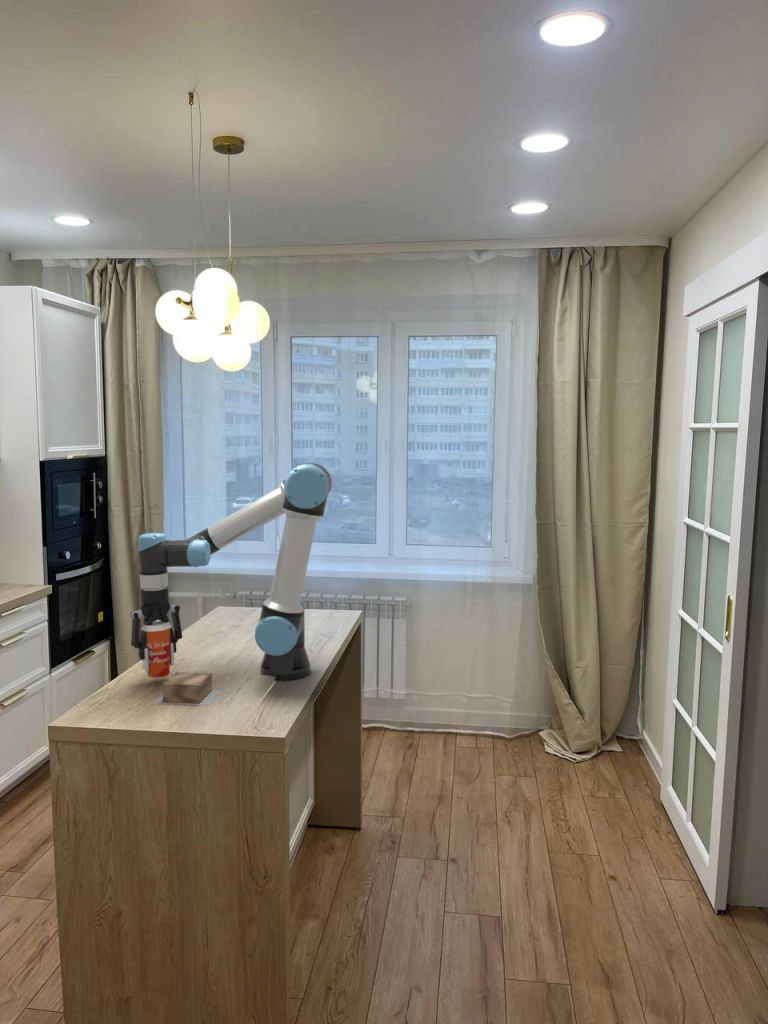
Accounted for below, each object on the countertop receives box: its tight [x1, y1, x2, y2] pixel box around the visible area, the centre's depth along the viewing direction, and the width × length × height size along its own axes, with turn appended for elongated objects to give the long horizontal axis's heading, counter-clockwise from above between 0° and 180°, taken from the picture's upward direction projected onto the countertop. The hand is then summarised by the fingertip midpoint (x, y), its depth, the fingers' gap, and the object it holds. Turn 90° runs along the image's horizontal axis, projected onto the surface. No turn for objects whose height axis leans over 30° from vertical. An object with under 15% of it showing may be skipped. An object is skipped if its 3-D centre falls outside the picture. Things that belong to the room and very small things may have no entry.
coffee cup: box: [140, 620, 173, 678], centre depth 208 cm, size 8×8×15 cm
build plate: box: [152, 689, 222, 706], centre depth 197 cm, size 15×11×1 cm
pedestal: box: [162, 671, 213, 704], centre depth 197 cm, size 10×10×5 cm
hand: (158, 667), depth 208 cm, fingers closed on coffee cup, 7 cm apart
